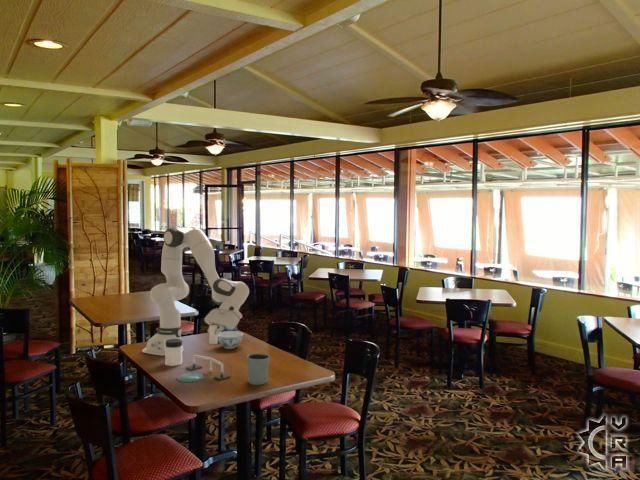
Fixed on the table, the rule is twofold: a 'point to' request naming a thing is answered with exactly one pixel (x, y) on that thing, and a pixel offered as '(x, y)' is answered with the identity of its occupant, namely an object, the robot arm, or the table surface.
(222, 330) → the grapes
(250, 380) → the grey-green open cylinder
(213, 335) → the salt shaker
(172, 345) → the jar
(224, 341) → the chinaware
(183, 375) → the saucer
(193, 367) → the bent bar stand
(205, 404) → the table surface
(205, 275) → the robot arm
